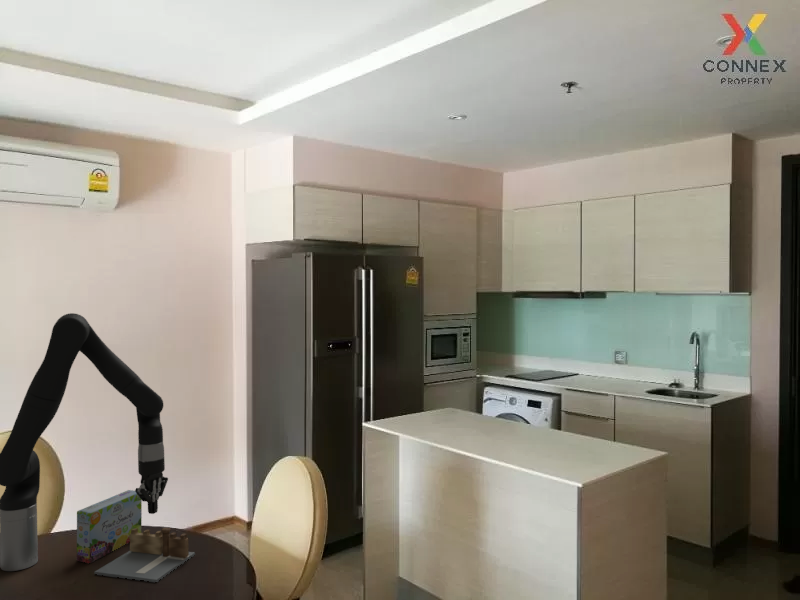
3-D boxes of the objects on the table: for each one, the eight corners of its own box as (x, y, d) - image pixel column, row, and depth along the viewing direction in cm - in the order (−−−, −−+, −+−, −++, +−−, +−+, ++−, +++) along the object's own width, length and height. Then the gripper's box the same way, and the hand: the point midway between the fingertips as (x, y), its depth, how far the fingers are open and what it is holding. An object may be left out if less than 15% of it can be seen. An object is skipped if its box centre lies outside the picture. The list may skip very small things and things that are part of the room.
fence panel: (129, 551, 186) (129, 529, 186) (133, 549, 188) (133, 528, 187) (160, 554, 183) (160, 533, 183) (163, 552, 185) (163, 531, 185)
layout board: (94, 574, 174) (94, 571, 174) (137, 548, 191) (137, 545, 191) (156, 582, 168) (156, 579, 168) (195, 555, 186) (195, 552, 186)
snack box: (91, 564, 180) (90, 512, 180) (76, 562, 182) (75, 510, 182) (143, 536, 200) (142, 490, 200) (128, 534, 202) (128, 488, 202)
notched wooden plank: (159, 559, 183) (159, 530, 183) (165, 556, 185) (164, 527, 185) (184, 562, 181) (184, 533, 180) (189, 558, 183) (189, 529, 183)
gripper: (154, 450, 199) (156, 504, 199) (126, 462, 186) (127, 519, 187) (175, 452, 197) (176, 506, 197) (147, 463, 184) (149, 521, 185)
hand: (152, 512), depth 192 cm, fingers closed
